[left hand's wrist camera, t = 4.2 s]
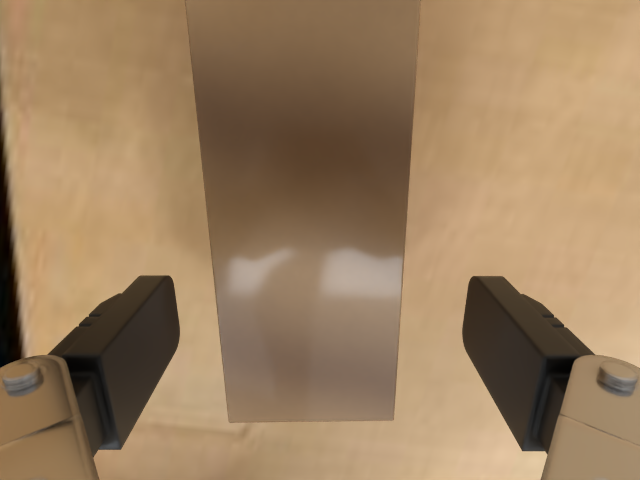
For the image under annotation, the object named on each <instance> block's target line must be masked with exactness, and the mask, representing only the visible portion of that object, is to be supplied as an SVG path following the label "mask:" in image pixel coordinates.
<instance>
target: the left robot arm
mask: <svg viewBox="0 0 640 480" xmlns="http://www.w3.org/2000/svg"><path fill="white" fill-rule="evenodd" d="M462 336H463V343H464V347H465V350H466V352H467V354H468V355H469V357H470V359H471V361H472V363H473V364H474V366H475V368H476V370H477V371H478V373H479V375H480V377H481V379H482V380H483V382H484V384H485V386H486V387H487V389H488V391H489V393H490V394H491V396H492V398H493V400H494V402H495V403H496V405H497V407H498V409H499V410H500V412H501V414H502V416H503V418H504V419H505V421H506V423H507V425H508V426H509V428H510V430H511V432H512V434H513V435H514V437H515V439H516V441H517V442H518V444H519V446H520V448H521V449H522V451H546V453H547V459H546V463H545V466H544V470H543V474H542V477H541V480H640V368H638V367H637V366H635V365H632V364H630V363H628V362H625V361H622V360H619V359H616V358H612V357H607V356H601V355H595V354H594V353H593V352H592V351H591V350H590V349H589V348H588V347H587V346H585V345H584V344H583V343H582V342H581V341H580V340H579V339H578V338H577V337H576V336H575V335H574V334H573V333H572V332H571V331H570V330H569V329H568V328H564V325H563V324H562V323H561V322H560V321H559V320H558V319H557V318H554V315H553V314H552V313H551V312H550V311H549V310H548V309H547V308H546V307H545V306H544V305H543V304H541V303H539V302H537V301H536V300H534V299H532V298H530V297H528V296H526V295H524V294H520V293H519V292H518V291H517V290H516V289H515V288H514V287H513V286H512V285H511V284H510V283H509V282H508V281H507V280H506V279H505V278H504V277H502V276H473V277H472V278H471V279H470V281H469V285H468V292H467V299H466V306H465V313H464V321H463V328H462ZM179 337H180V326H179V319H178V311H177V304H176V297H175V290H174V283H173V280H172V278H171V277H170V276H139V277H138V278H137V279H136V280H135V281H134V282H133V283H132V284H131V285H130V286H129V287H128V288H127V289H126V290H125V291H124V292H123V293H122V294H117V295H115V296H113V297H111V298H110V299H108V300H106V301H104V302H102V303H101V304H99V305H98V306H97V307H96V308H95V309H94V310H93V311H92V312H91V313H90V314H89V317H86V318H85V319H84V320H83V321H82V322H81V323H80V324H79V327H76V328H75V329H74V330H72V331H71V332H70V333H69V334H68V335H67V336H66V337H65V338H64V339H63V340H62V341H61V342H60V343H59V344H58V345H57V346H56V347H55V348H54V349H53V350H52V351H51V352H50V353H49V354H48V355H39V356H33V357H28V358H24V359H21V360H18V361H15V362H12V363H10V364H8V365H5V366H3V367H2V368H0V480H99V477H98V474H97V470H96V466H95V463H94V459H93V457H94V456H95V454H96V452H97V451H98V450H121V448H122V447H123V445H124V443H125V441H126V439H127V438H128V436H129V434H130V432H131V431H132V429H133V427H134V425H135V423H136V422H137V420H138V418H139V416H140V414H141V413H142V411H143V409H144V407H145V405H146V404H147V402H148V400H149V398H150V396H151V395H152V393H153V391H154V389H155V387H156V386H157V384H158V382H159V380H160V378H161V377H162V375H163V373H164V371H165V369H166V368H167V366H168V364H169V362H170V360H171V359H172V357H173V355H174V353H175V351H176V349H177V347H178V343H179Z"/></svg>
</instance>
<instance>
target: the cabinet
mask: <svg viewBox="0 0 640 480" xmlns="http://www.w3.org/2000/svg"><path fill="white" fill-rule="evenodd" d="M185 5H186V14H187V24H188V34H189V43H190V53H191V63H192V72H193V82H194V92H195V101H196V111H197V121H198V130H199V140H200V150H201V159H202V169H203V178H204V188H205V198H206V207H207V217H208V227H209V236H210V246H211V256H212V265H213V275H214V285H215V294H216V304H217V314H218V323H219V333H220V343H221V352H222V362H223V371H224V381H225V391H226V400H227V410H228V420H229V422H230V423H235V422H313V421H392V420H394V408H395V393H396V377H397V362H398V346H399V331H400V315H401V300H402V284H403V268H404V253H405V237H406V222H407V206H408V191H409V175H410V160H411V144H412V129H413V113H414V98H415V82H416V67H417V51H418V36H419V20H420V5H421V0H185Z"/></svg>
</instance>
